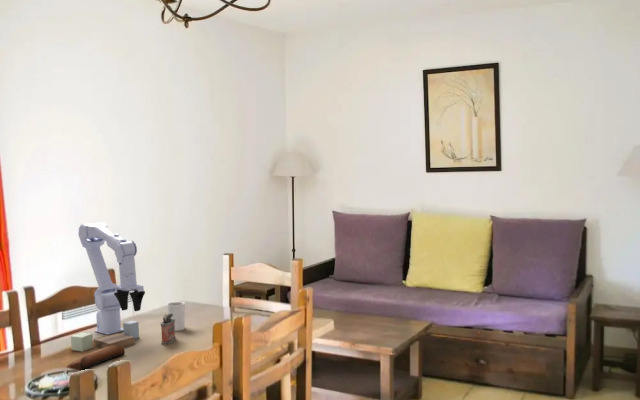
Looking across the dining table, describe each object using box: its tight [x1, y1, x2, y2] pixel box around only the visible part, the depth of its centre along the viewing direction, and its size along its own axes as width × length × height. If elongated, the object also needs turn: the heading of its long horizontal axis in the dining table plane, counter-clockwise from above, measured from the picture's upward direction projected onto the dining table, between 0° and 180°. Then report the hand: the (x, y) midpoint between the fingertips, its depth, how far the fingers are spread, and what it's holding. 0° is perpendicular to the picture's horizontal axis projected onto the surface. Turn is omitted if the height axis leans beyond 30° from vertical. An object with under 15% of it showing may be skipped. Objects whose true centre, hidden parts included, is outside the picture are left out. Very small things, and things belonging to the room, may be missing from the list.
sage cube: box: [70, 332, 94, 352], centre depth 219 cm, size 5×5×5 cm
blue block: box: [122, 320, 140, 340], centre depth 231 cm, size 4×4×6 cm
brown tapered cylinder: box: [66, 345, 126, 371], centre depth 204 cm, size 18×7×7 cm
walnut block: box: [93, 332, 135, 349], centre depth 223 cm, size 10×10×3 cm
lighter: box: [160, 313, 177, 346], centre depth 225 cm, size 8×3×10 cm, turn 168°
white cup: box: [166, 301, 186, 332], centre depth 243 cm, size 7×7×10 cm
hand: (131, 310), depth 231 cm, fingers open, 7 cm apart
